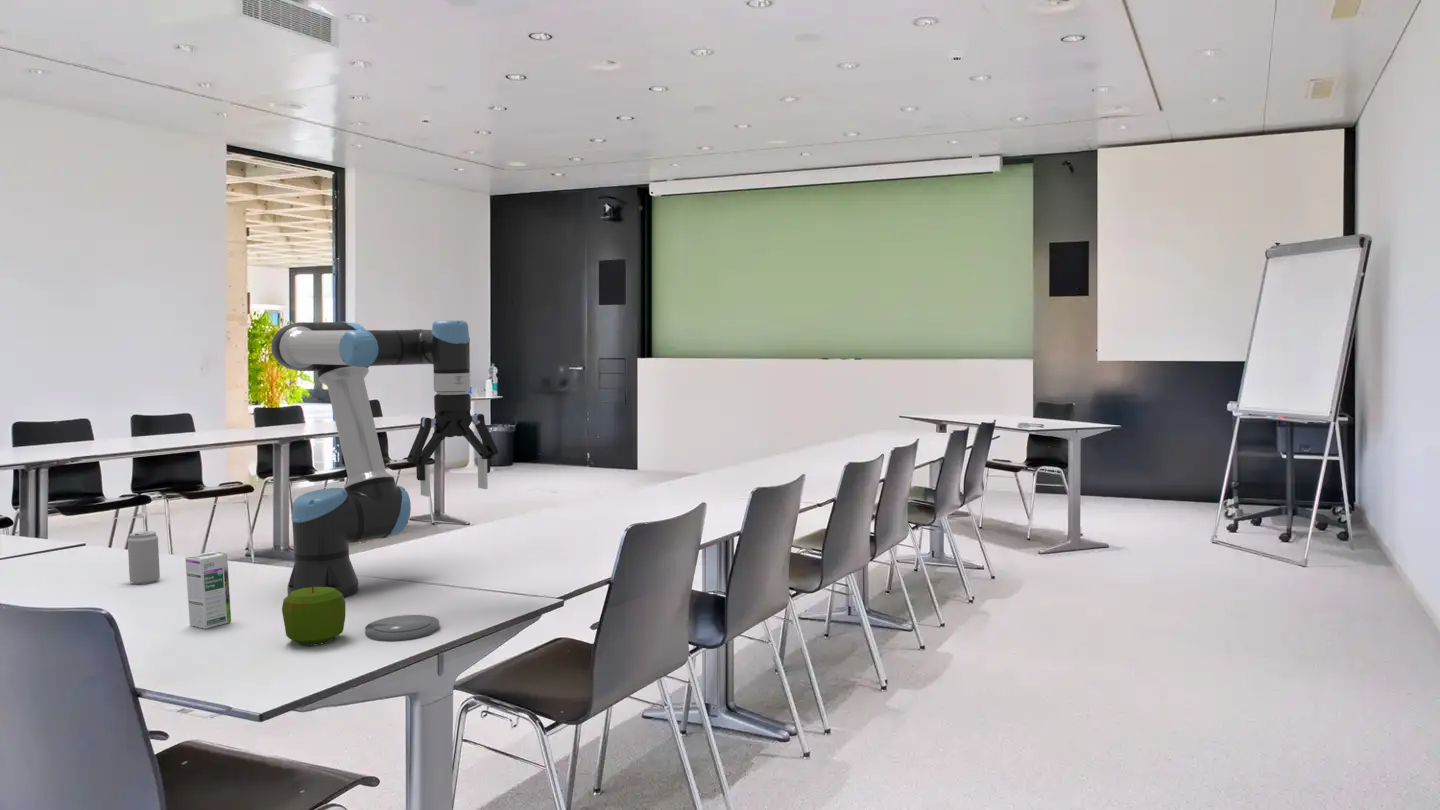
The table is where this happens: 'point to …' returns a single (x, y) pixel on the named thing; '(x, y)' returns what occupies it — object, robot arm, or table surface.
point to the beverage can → (143, 557)
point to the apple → (313, 615)
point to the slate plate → (402, 627)
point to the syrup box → (208, 589)
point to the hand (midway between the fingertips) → (454, 492)
